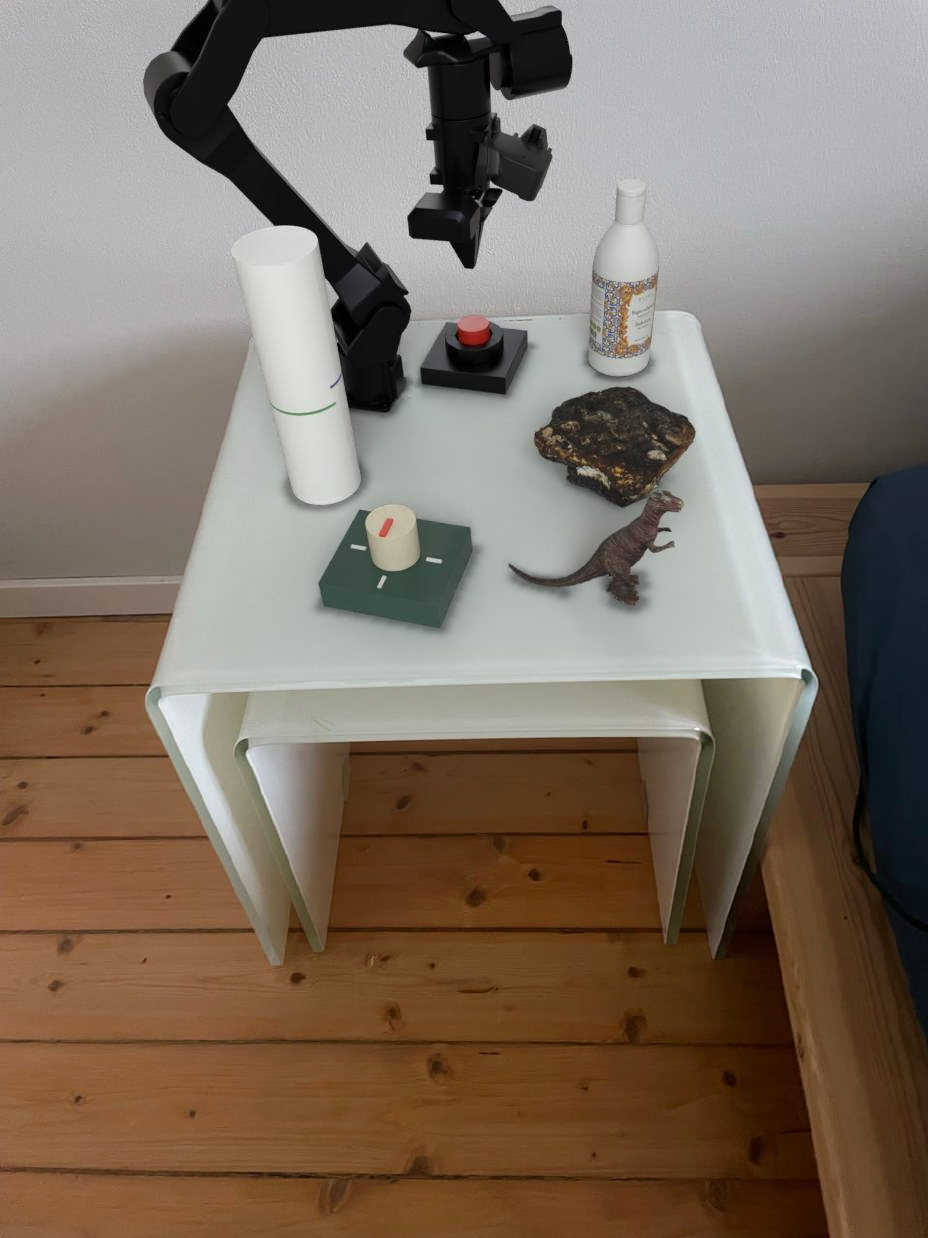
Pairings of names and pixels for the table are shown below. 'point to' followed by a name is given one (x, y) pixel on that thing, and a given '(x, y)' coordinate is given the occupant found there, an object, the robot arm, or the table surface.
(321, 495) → the cylindrical container
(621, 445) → the fossil rock
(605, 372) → the bath foam
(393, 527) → the dial knob
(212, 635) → the table surface
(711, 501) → the table surface
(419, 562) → the dial panel
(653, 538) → the dinosaur model
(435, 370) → the button box
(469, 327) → the button
